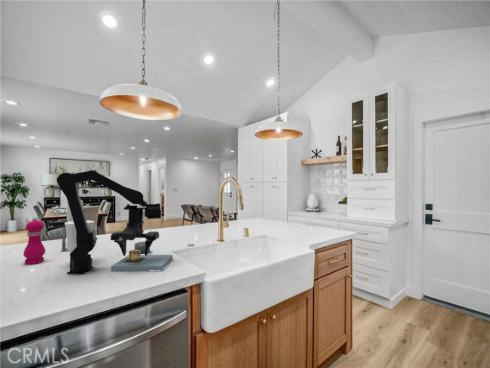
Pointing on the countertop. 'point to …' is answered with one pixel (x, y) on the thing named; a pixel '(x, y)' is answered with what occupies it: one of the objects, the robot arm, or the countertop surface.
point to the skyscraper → (69, 219)
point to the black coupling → (141, 247)
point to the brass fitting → (134, 256)
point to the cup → (74, 233)
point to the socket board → (143, 263)
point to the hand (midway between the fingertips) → (135, 255)
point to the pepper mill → (34, 243)
